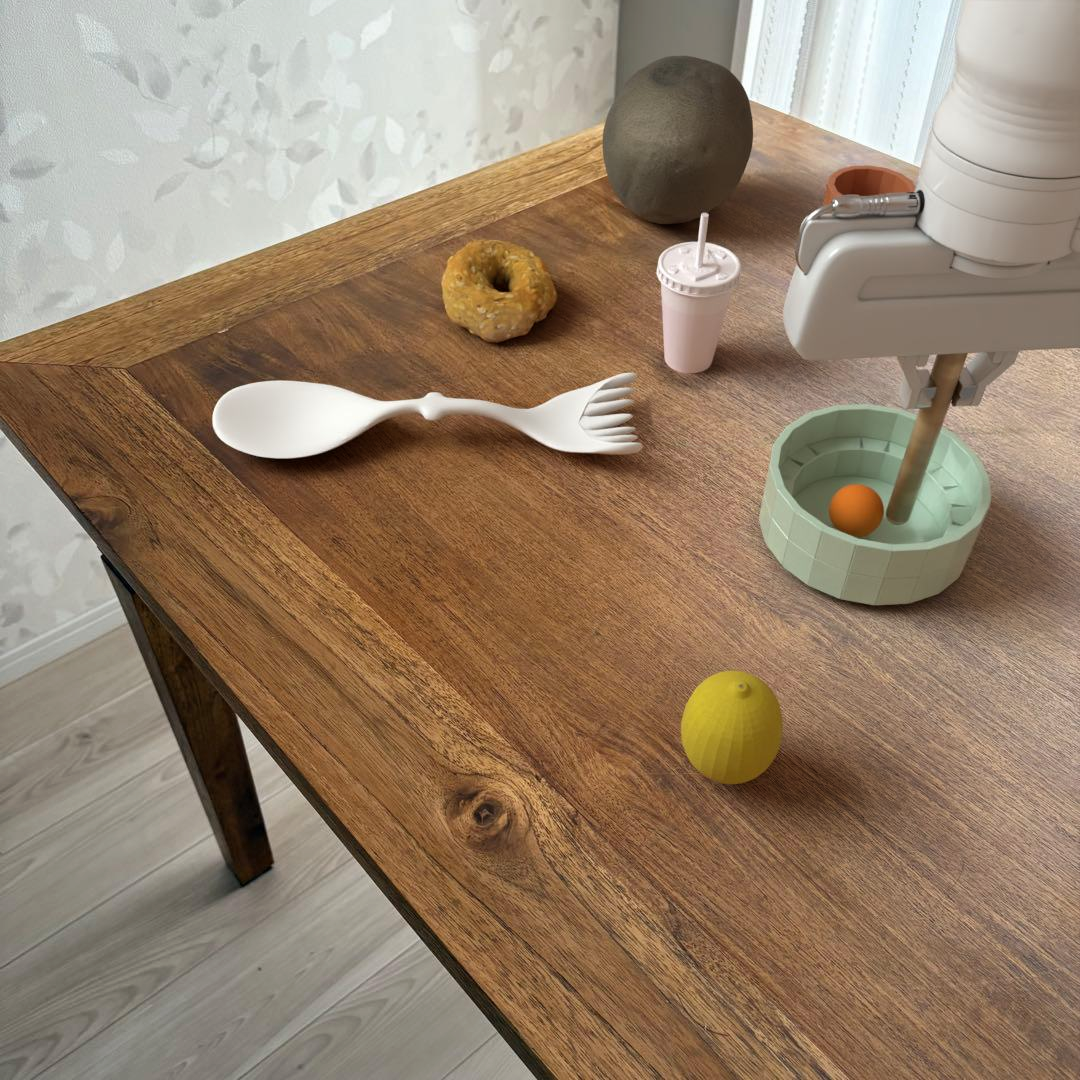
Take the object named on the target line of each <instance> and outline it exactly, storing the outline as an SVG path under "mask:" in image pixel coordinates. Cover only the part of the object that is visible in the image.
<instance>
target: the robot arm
mask: <svg viewBox="0 0 1080 1080" xmlns="http://www.w3.org/2000/svg"><path fill="white" fill-rule="evenodd" d="M954 57H955V58H954V67H953V73H952V78H951V80H950V83H949V85H948V88H947V90H946V92H945V93H944V95H943V96H942V98H941V100H940V102H939V103H938V105H937V107H936V109H935V112H934V114H933V118H932V120H931V121H932V122H931V123H932V124H931V126H930V129H929V133H928V136H927V141H926V145H925V149H924V152H923V156H922V160H921V164H920V168H919V172H918V176H917V180H916V183H915V186H916V187H915V191H914V192H903V193H887V194H880V195H873V196H859V195H842V196H838V197H834V198H833V199H832V202H831V204H827V205H824V206H823V205H822V206H820V207H817V208H816V209H814V210H813V211H812V212H811V213H809V214H808V215H806V216H805V217H804V219H803V220H802V222H801V224H800V227H799V231H798V235H797V242H796V247H795V253H794V254H795V257H794V258H795V263H796V265H795V268H794V271H793V273H792V276H791V280H790V282H789V285H788V289H787V293H786V295H785V296H786V298H785V302H784V305H783V310H782V321H783V323H782V324H783V328H784V330H785V333H786V336H787V339H788V341H789V343H790V345H791V346H792V348H793V349H794V350H795V352H796V353H797V354H798V355H799V356H800V357H801V358H802V359H803V360H805V361H811V362H812V361H830V360H832V361H833V360H853V359H855V360H856V359H873V358H875V359H876V358H895V357H896V360H897V362H898V364H899V367H900V369H901V371H902V376H901V379H900V384H899V386H898V399H899V400H900V402H901V405H902V407H903V410H919V409H922V408H930V407H931V405H932V401H931V399H932V398H933V397H934V396H935V393H936V390H937V387H936V385H935V383H934V381H933V380H931V379H930V378H931V377H930V374H931V372H930V371H929V369H917V367H918V368H922V367H923V368H924V367H926V366H927V364H928V361H929V358H930V356H937V355H940V354H961V353H968V354H976V355H975V356H974V357H973V358H972V359H971V360H970V361H969V362H968V363H967V365H965V367H964V366H963V369H962V371H961V374H960V377H959V380H958V383H957V386H956V388H955V391H954V394H953V397H952V400H951V403H950V405H951V406H952V407H979V406H980V404H981V402H982V399H983V396H984V394H985V391H986V389H987V386H990V385H991V384H992V383H993V382H994V381H995V380H996V379H998V378H999V377H1000V376H1001V375H1002V374H1004V372H1006V371H1007V370H1008V369H1009V368H1011V366H1012V365H1014V364H1015V363H1016V360H1017V357H1018V355H1019V353H1020V352H1023V351H1041V350H1042V351H1045V350H1064V349H1065V350H1067V349H1080V0H963V2H962V5H961V9H960V13H959V18H958V21H957V25H956V29H955V34H954ZM828 212H831V214H825V213H828Z"/></svg>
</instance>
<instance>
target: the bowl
mask: <svg viewBox="0 0 1080 1080" xmlns="http://www.w3.org/2000/svg"><path fill="white" fill-rule="evenodd" d="M916 417H917V414H916V413H913V412H909V411H907V410H906V409H902V408H899V407H891V406H885V405H879V404H873V403H872V404H870V403H856V404H855V403H853V404H834V405H831V406H827V407H824V408H820V409H815V410H813V411H809V412H806V413H805V414H804V415H802V416H800V417H798V418H797V419H795V420H794V421H792V422H791V423H788V424H786V426H785V427H784V429H783V430H782V431H781V433H780V434H779V435H778V437H777V438H776V439H775V441H774V443H773V444H772V447H771V452H770V456H769V461H768V466H767V472H766V477H765V483H764V486H763V487H764V488H763V492H762V497H761V503H760V507H759V508H760V510H759V516H758V523H759V527H760V530H761V533H762V536H763V541H764V543H765V545H766V547H767V548H768V549H769V550H770V552H771V554H772V555H773V557H775V558H776V560H777V561H778V563H779V564H780V565H781V566H782V567H783V569H785V570H786V571H788V572H789V573H790V574H792V575H793V576H795V577H796V578H797V579H798V580H800V581H801V582H802V583H804V584H805V585H806V586H808V587H810V588H812V589H814V590H818V591H819V592H822V593H825V594H827V595H829V596H831V597H834V598H836V599H839V600H841V601H843V600H844V601H848V602H853V603H859V604H864V605H868V606H869V605H870V606H891V605H907V604H913V603H915V602H919V601H921V600H924V599H928V598H931V597H933V596H936V595H939V594H940V593H942V592H943V591H944V590H945V589H947V588H948V587H949V586H951V585H952V584H953V583H955V581H957V580H958V579H959V578H960V577H961V574H962V573H963V571H964V569H965V566H966V565H967V562H968V560H969V558H970V556H971V554H972V551H973V548H974V547H975V543H976V541H977V539H978V536H979V534H980V532H981V529H982V526H983V524H984V523H985V519H986V517H987V514H988V513H989V509H990V508H991V504H992V489H991V488H992V485H991V477H990V476H989V474H988V472H987V470H986V468H985V466H984V463H983V461H982V460H981V458H980V456H979V455H978V454H977V453H976V452H975V451H974V450H973V449H972V448H971V447H970V446H969V445H968V444H967V443H966V442H964V440H963V439H961V437H959V435H957V434H956V433H954V432H952V431H951V430H949V429H948V428H945V427H944V426H942V428H941V431H940V434H939V437H938V439H937V442H936V445H935V448H934V451H933V454H932V456H931V459H930V462H929V465H928V468H927V471H926V473H925V476H924V479H923V482H922V485H921V488H920V490H919V493H918V496H917V499H916V502H915V505H914V507H913V510H912V513H911V516H910V518H909V520H908V521H907V522H906V523H905V524H903V525H894V524H892V523H890V522H889V521H888V520H887V517H886V509H887V506H888V503H889V500H890V497H891V494H892V491H893V488H894V485H895V482H896V479H897V476H898V473H899V469H900V466H901V463H902V460H903V457H904V454H905V451H906V448H907V445H908V442H909V439H910V436H911V433H912V430H913V427H914V423H915V420H916ZM853 484H860V485H865V486H868V487H870V488H871V489H873V490H874V491H875V492H876V493H877V494H878V495H879V496H880V498H881V500H882V502H883V506H884V515H883V519H882V521H881V523H880V525H879V526H878V528H877V529H876V530H875V531H873V532H872V533H870V534H868V535H866V536H862V537H853V536H851V535H848V534H846V533H843V532H841V531H838V530H837V529H836V528H835V527H834V525H833V524H832V522H831V519H830V516H829V506H830V503H831V500H832V498H833V496H834V495H835V494H836V493H837V492H838V491H839V490H840V489H842V488H844V487H846V486H849V485H853Z"/></svg>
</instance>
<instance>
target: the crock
mask: <svg viewBox="0 0 1080 1080" xmlns="http://www.w3.org/2000/svg"><path fill="white" fill-rule="evenodd" d="M915 187H916V184H915V183H914V181H913V180H911V178H909V177H907V176H906V175H905V174H903V173H901V172H898V171H895V170H893V169H891V168H887V167H882V166H875V165H868V164H866V165H865V164H864V165H850V166H846V167H843V168H840V169H839V168H838V169H837V170H835V171H834V172H833V173H831V174H830V175H829V176H828V180H827V183H826V186H825V192H824V196H823V200H822V201H823V202H822V206H824V205H827V204H831V202H832V199H833V198H834V197H838V196H842V195H859V196H873V195H880V194H887V193H903V192H914V191H915ZM825 214H831V212H828V213H825Z"/></svg>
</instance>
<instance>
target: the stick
mask: <svg viewBox="0 0 1080 1080" xmlns="http://www.w3.org/2000/svg"><path fill="white" fill-rule="evenodd" d="M968 354H969V353H961V354H940V355H935V356H936V357H935V359H934V362H933V366H932V369H931V371H930V377H931V378H930V379H931V380H933V381H934V383H935V385H936V387H937V390H936V393H935V396H934V397H933V398H932V399H931V401H932V405H931V407H930V408H922V409H918V411H917V414H916V415H917V417H916V420H915V423H914V427H913V430H912V433H911V436H910V439H909V442H908V445H907V448H906V451H905V454H904V457H903V460H902V463H901V466H900V469H899V473H898V476H897V479H896V482H895V485H894V488H893V491H892V494H891V497H890V500H889V503H888V506H887V509H886V517H887V520H888V521H889V522H890V523H892V524H894V525H903V524H905V523H906V522H907V521H908V520H909V518H910V516H911V513H912V510H913V507H914V505H915V502H916V499H917V496H918V493H919V490H920V488H921V485H922V482H923V479H924V476H925V473H926V471H927V468H928V465H929V462H930V459H931V456H932V454H933V451H934V448H935V445H936V442H937V439H938V437H939V434H940V431H941V428H942V427H943V425H944V422H945V419H946V417H947V413H948V410H949V408H950V405H951V401H952V397H953V394H954V391H955V388H956V386H957V383H958V380H959V377H960V374H961V371H962V369H963V367H964V366H965V362H966V361H967V360H966V359H967V357H968Z"/></svg>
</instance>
